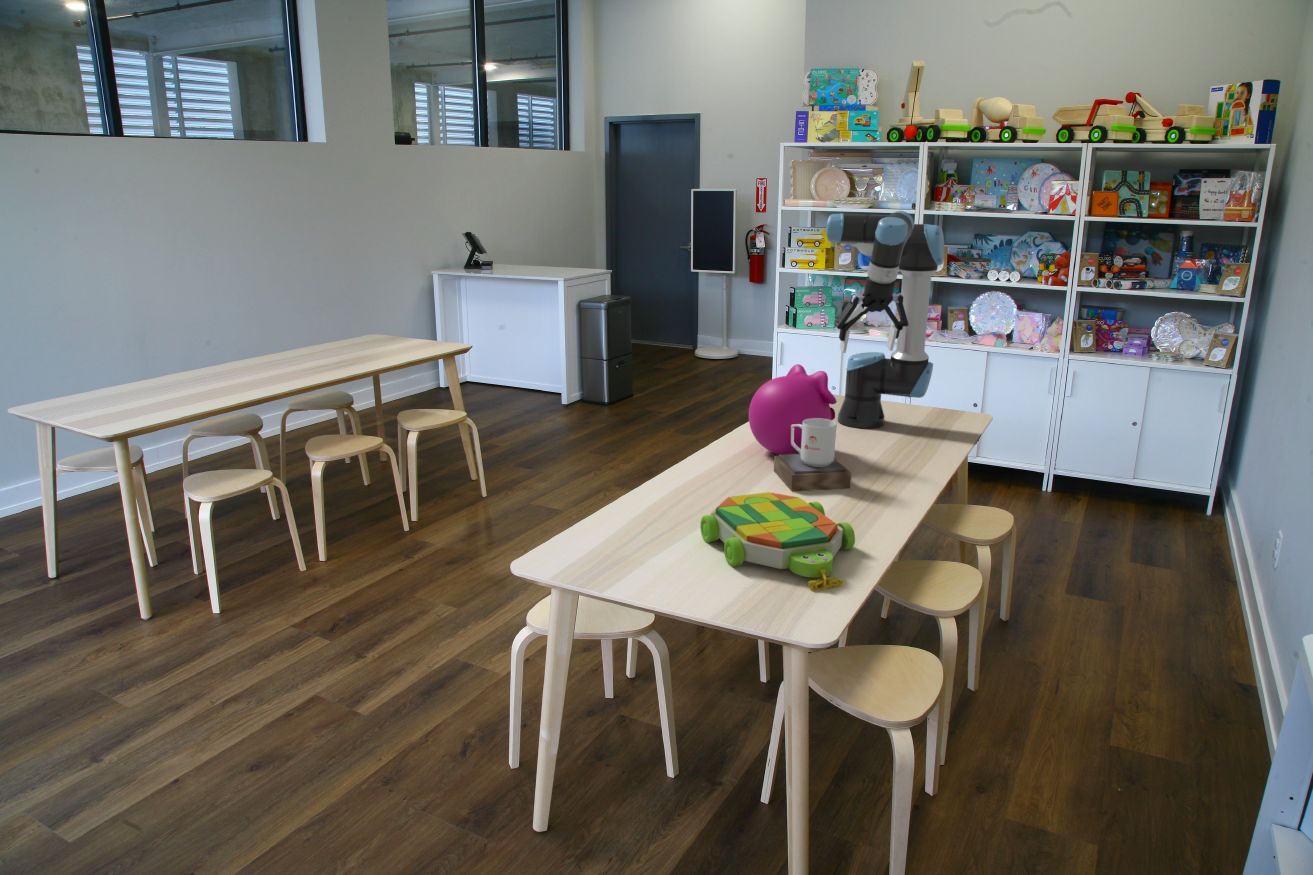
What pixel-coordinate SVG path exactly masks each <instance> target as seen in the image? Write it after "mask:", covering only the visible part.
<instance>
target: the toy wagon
mask: <svg viewBox="0 0 1313 875" xmlns="http://www.w3.org/2000/svg"><path fill="white" fill-rule="evenodd" d="M699 528H700V533H701V537H702V539H703V541H704V542H705V543H708V544H709V543H714V542H717V541H718V539H720V541H722V543H723V544H724V545H723V546H724V547H723V551H724V558H725V560H726V562H727V564H728V565H729V566H731V567H732V568H733V567H734V568H735V567H740V566H742V565H743V563H744V562H749V563H751V564H757V565H761V566H767V567H769V568H770V567H771V568H774V569H775V568H776V569H780V570H785V569H789V570H790V571H791V572H792V573H794V574H796V575H798V576H801V577H807V578H814V579H815V578H816V579H815V580H814V579H813V580H809V581H808V582H807V585H808V587H809V588H808V589H810V591H811V592H816V591H825V590H828V589H830V588H840V587H842V586H843V583H844V582H843V580H842V579H840V578H839V577H835V576H830V577H827V576H829V575H830V574H831V573H832V572H833V565H834V558H835V556H836V555H837V553H838V552H839V550H842V551H849V550H852V549H853V548H854V546H855V543H856V535H855V530H854V528H853V526H852V525H851V524H850V523H849V522H846V521H845V522H838V523H836V522H834V521H833V520H832V519H831V518H829V517H827V516H826V512H825V509H824V507H823V505H822V503H820V502H819V501H812V502H811V501H810V502H807V501H805V500H804V499H803V498H801V497H799V496H795V495H794V496H793V495H786V494H781V493H775V492H770V491H768V492H761V493H760V492H759V493H751V494H742V495H741V494H740V495H734V496H728V497H726V498H725V499H724V500H723V501H722V502H721V503H720V504H719V505H718V506H716V507H715V508H714V509H713V510H712V511H711V512H710V514H706V515H703V516H701V519H700V526H699ZM817 578H818V579H817ZM819 578H820V579H819Z"/></svg>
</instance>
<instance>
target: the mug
mask: <svg viewBox="0 0 1313 875" xmlns="http://www.w3.org/2000/svg"><path fill="white" fill-rule="evenodd" d="M796 426H798V427H800V428H801V429H802V438H801V449H800V448H799V447H798V446H797V445H796V444H795V443H794V427H796ZM836 438H837V422H836V421H834V420H828V419H822V418H811V419H806V420H804V421H803V422H802V425H801V424H792V425H791V445H792V446H793V447H794V448H795V449H796V450H797V451H798V452H799V453H800V458H801V460H802V461H803V463H804V464H806V465H808V466H813V467H826V466H829V465H830V464H831V463H832V462H833V461H834V458H835V455H836V454H835V451H836Z"/></svg>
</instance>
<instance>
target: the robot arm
mask: <svg viewBox="0 0 1313 875" xmlns="http://www.w3.org/2000/svg"><path fill="white" fill-rule="evenodd" d="M914 222H915V221H914V218H913V217H912V215H911V214H910V213H908V212H907V211H904V210H896V211H893V212H891V213H890V214H856V213H853V214H852V213H841V212H840V213H833V214H832V213H831V214H830V215H829V216H828V218H827V221H826V226H825V227H826V229H825V234H826V239H827V241H828V242H831V243H837V244H838V243H841V244H844V243H845V244H848V245H850V246H852V247H855V248H856V249H857V250H858V252H860V253H861V254H863V255H864V256H866V257H869V258H870V260H869V264H868V270H867V277H866V278H865V283H864V290H863V294H862V295H857V294H856V293H852V294H851V296H850V299H849V302H848V303H847V304H846V306H845V307H844V309H843V310H842V311H841V313H840V315H839V316H838V317H837V319H836V320H834V325H835V328H837V329H838V330H839V334H838V339H839V340H840V344H839V350H840V351H841V352H842V353H843V354H845V353H847V347H848V343H849V337H850V332H851V331H850V330H849V329H850V328H851V327H853V325H854V324H856V323H857V322H858V321H859V320H860V319H861V318H862V317H863V316H864V315H866V314H868V313H869V312H870V313H875V312H878V313H880V312H883V311H885V313H886V314H887V316H888V317H889V318H890V319H889V320H890V321H892V324H891V325H890V328H889V332H888V336H887V340H886V341H887V342H886V346H885V347H886V348H887V349H888V350H889V351H890V352H892V351H893V350H894V346H895V341H896V349H895V350H894V351H893V352H892V353H891V354H890V358H886V355H885V353H884V352H877V351H869V352H868V351H867V352H859V353H856V354H852V355H851V356H849V357H848V359H847V367H846V369H845V370H846V375H845V376H846V378H845V391H844V398H843V402H842V404H841V407H840V409H839V411H838V414H837V422H838V423H839V424H841V425H843V426H847V427H851V428H857V429H858V428H859V429H874V428H880V427H883V426H884V425H885V417H886V416H885V413H884V409H883V405H882V395H886V396H887V395H888V396H896V397H905V398H906V397H907V398H909V399H910V398H917V399H919V398H923V397H924V396H925V395H926V393H927V391H928V388H929V386H930V382H931V378H932V374H933V370H934V369H933V368H934V363H933V362H931V361H929V360H930V359H929V358H930V357H929V355H928V353H927V352H926V351H925V348H926V347H925V346H926V336H927V329H928V328H927V327H928V317H929V315H928V314H929V306H930V305H929V304H930V294H931V284H932V276H933V275H934V273H936V272H937V271H938V269H939V268H938V266H940V265H943V263H944V261H945V260H944V259H945V238H944V232H943V229H942V227H941V226H939V225H934V224H927V223H914ZM899 272H900V273H901V274H902V279H901V289H900V290H901V292H899V291H898V292H896V293H895V294H894V291H895V288H896V282H897V281H896V280H897V278H898V273H899ZM860 302H861V303H860ZM892 302H894V303H895V306H896V309H897V313H898V318H897V316H896V315H895V314H894V312H893V310H892V309H891V308H890V306H889V305H890V304H891V303H892ZM896 339H897V340H896Z"/></svg>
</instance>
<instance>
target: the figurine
mask: <svg viewBox="0 0 1313 875" xmlns="http://www.w3.org/2000/svg"><path fill="white" fill-rule="evenodd" d="M787 372H788V373H787V374H786V375H783V376H779V377H778V376H777V377H775V378H773V379H770V380H768V381H766V382H765V383H763V384H762V385H761V386H760V387H759V388H758V389H757V390H756V391H755V393H754V395H753V396H752V399H751V401H750V403H749V409H748V423H749V426H750V430H751V432H752V435H753V437H754V439H755V440H756V441H757V442H758V443H759V445H760V446H761V447H763V448H764V449H766V450H767V451H769V452H771V453H774V454H776V455H786V454H800V453H799V452H798V451H797V450H796V449H795V448H794V447H793V446H792V445H791V425H792V424H801V425H802V422H803V421H804V420H806V419H811V418H822V419H828V420H832V421H834V420H835V418H836V411H835V410H834V408H833V407H830V405H835V404H836V403H837V402H838V401H837V399H836V397H835V395H834V394H833V393H832V392H831V390H829V386H828V384H829V379H828V378H829V377H828V374H827V372H825V370H819V371H816V372H814V373H812V374H809V375H808V373H807V371H806V369H805V368H804V366H803V365H801V364H799V363H798V364H797V363H796V364H795V365H793V366H791V368H790V369H789V371H787ZM801 438H802V429H801V428H800V427H798V426H796V427H794V443H795V444H796V445H797V446H798V447H799V448H800V449H801Z"/></svg>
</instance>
